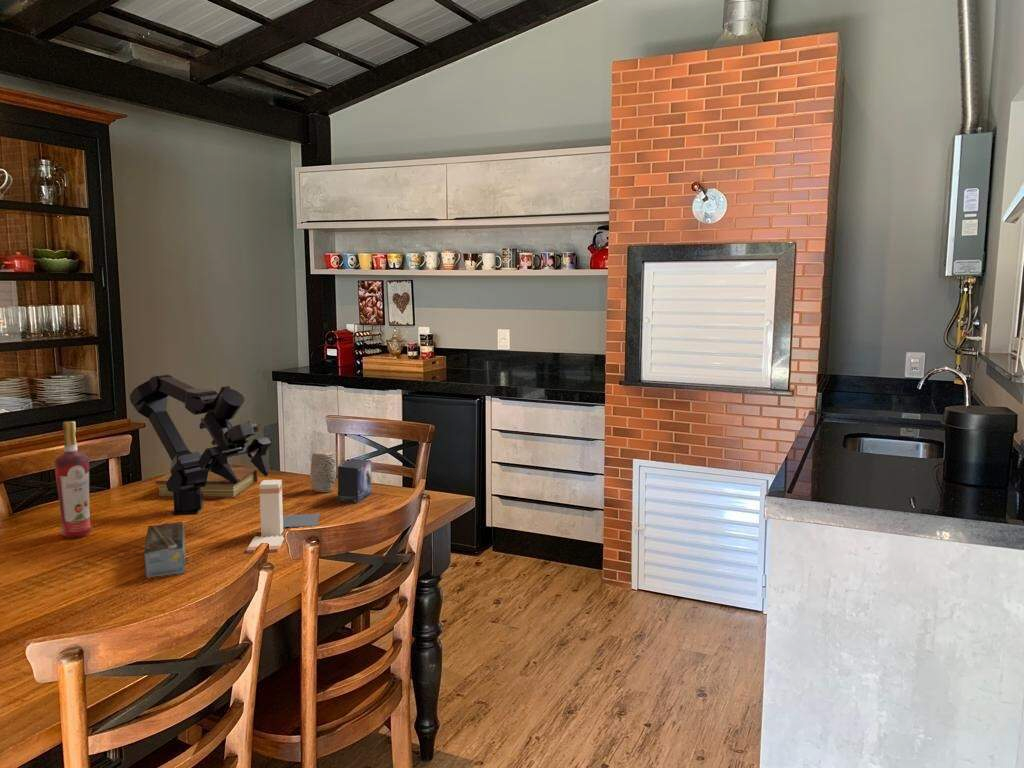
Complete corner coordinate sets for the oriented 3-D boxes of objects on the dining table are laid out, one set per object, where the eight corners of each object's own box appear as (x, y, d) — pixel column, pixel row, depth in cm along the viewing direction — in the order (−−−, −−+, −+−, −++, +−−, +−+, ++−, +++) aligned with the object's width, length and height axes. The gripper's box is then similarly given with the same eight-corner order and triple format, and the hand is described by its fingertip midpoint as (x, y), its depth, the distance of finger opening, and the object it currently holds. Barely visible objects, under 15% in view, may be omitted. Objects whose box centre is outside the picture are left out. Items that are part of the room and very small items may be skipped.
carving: (333, 493, 225) (332, 453, 223) (307, 493, 225) (306, 453, 223) (338, 488, 231) (337, 449, 229) (313, 487, 231) (312, 449, 229)
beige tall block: (261, 536, 186) (259, 484, 184) (264, 530, 190) (262, 480, 189) (280, 536, 186) (278, 484, 185) (283, 530, 191) (281, 479, 189)
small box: (358, 504, 214) (357, 467, 213) (337, 502, 216) (336, 466, 214) (372, 494, 225) (372, 459, 223) (352, 492, 226) (351, 458, 225)
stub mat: (275, 528, 192) (275, 526, 192) (281, 516, 202) (281, 515, 202) (315, 527, 194) (315, 525, 194) (320, 515, 203) (320, 513, 203)
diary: (258, 484, 237) (257, 466, 237) (235, 501, 219) (234, 481, 218) (184, 482, 238) (184, 464, 237) (156, 499, 219) (155, 479, 219)
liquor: (88, 528, 191) (81, 418, 188) (97, 535, 186) (90, 422, 183) (55, 535, 186) (47, 422, 183) (64, 542, 181) (56, 426, 178)
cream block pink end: (277, 551, 176) (277, 548, 175) (246, 553, 175) (245, 550, 175) (284, 537, 185) (284, 534, 185) (254, 538, 184) (254, 535, 184)
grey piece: (144, 580, 159) (142, 549, 158) (148, 551, 176) (146, 523, 176) (185, 574, 162) (183, 544, 161) (185, 546, 180) (184, 519, 179)
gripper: (202, 416, 183) (234, 467, 179) (265, 406, 199) (296, 452, 194) (184, 444, 189) (214, 494, 184) (247, 432, 204) (276, 478, 200)
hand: (252, 479), depth 190 cm, fingers open, 9 cm apart
